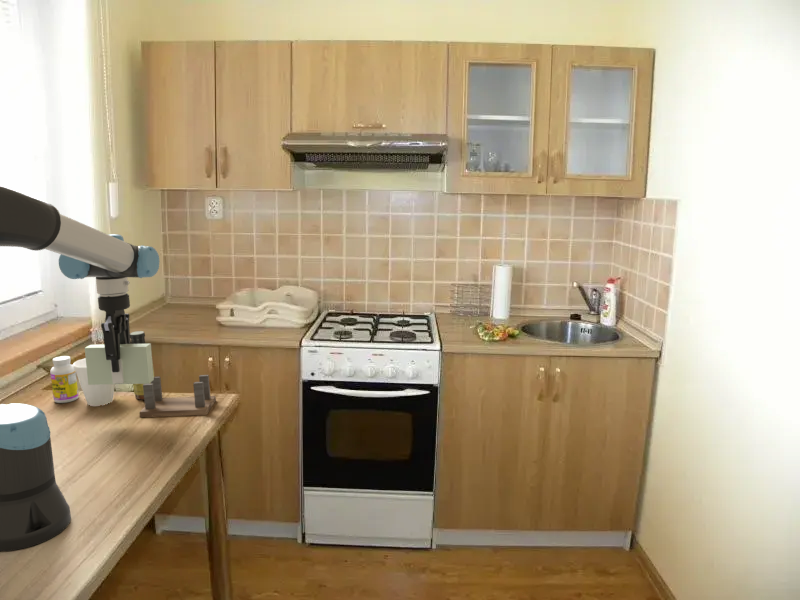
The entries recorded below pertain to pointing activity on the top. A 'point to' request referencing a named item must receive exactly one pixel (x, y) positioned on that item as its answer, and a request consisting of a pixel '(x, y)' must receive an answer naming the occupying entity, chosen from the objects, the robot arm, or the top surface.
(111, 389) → the cup
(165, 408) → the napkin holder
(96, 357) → the door panel
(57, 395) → the supplement bottle
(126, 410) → the top surface
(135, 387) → the sauce bottle
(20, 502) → the robot arm
